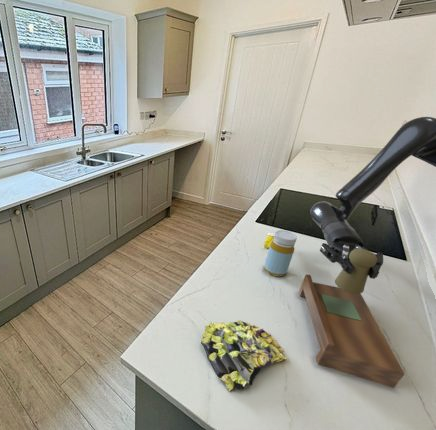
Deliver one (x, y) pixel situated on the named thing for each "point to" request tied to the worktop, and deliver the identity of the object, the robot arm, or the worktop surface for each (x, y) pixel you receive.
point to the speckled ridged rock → (239, 351)
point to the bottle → (280, 253)
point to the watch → (269, 240)
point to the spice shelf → (349, 334)
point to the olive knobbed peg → (356, 271)
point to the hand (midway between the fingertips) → (362, 273)
